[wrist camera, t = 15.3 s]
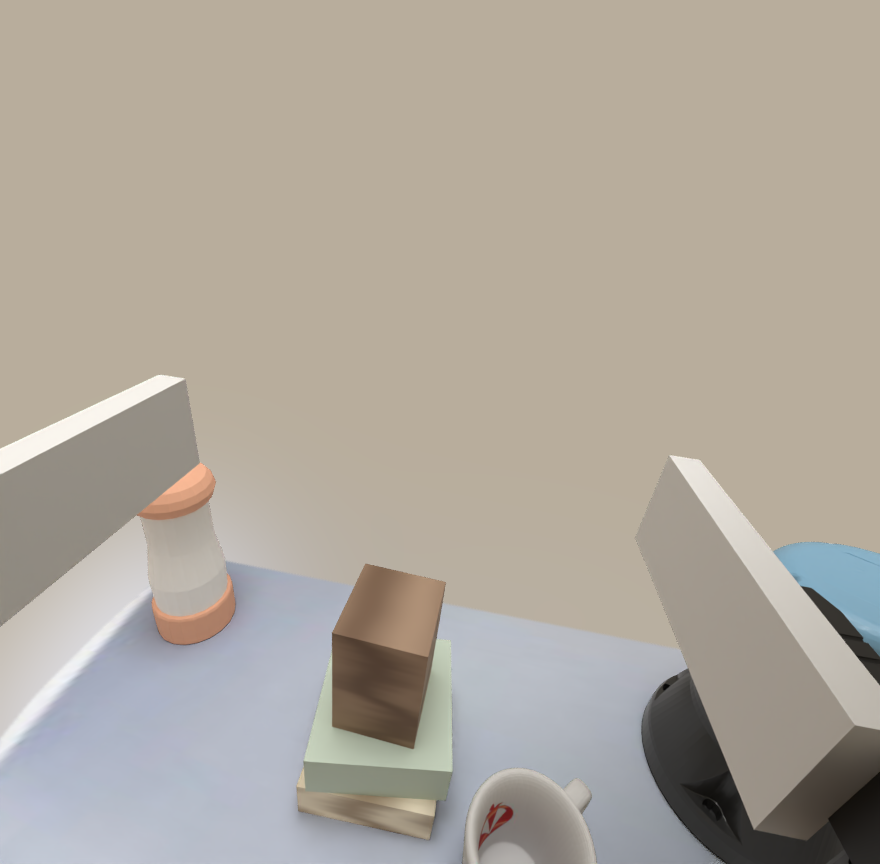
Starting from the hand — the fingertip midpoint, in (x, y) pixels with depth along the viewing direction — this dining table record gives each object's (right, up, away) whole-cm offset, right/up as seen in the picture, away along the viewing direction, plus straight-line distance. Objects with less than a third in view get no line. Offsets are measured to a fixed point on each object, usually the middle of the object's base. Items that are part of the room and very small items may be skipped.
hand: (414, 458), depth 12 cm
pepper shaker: (-25, -19, +34) cm, 47 cm away
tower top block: (-4, -23, +23) cm, 33 cm away
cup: (+6, -31, +19) cm, 37 cm away
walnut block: (-4, -20, +21) cm, 29 cm away
